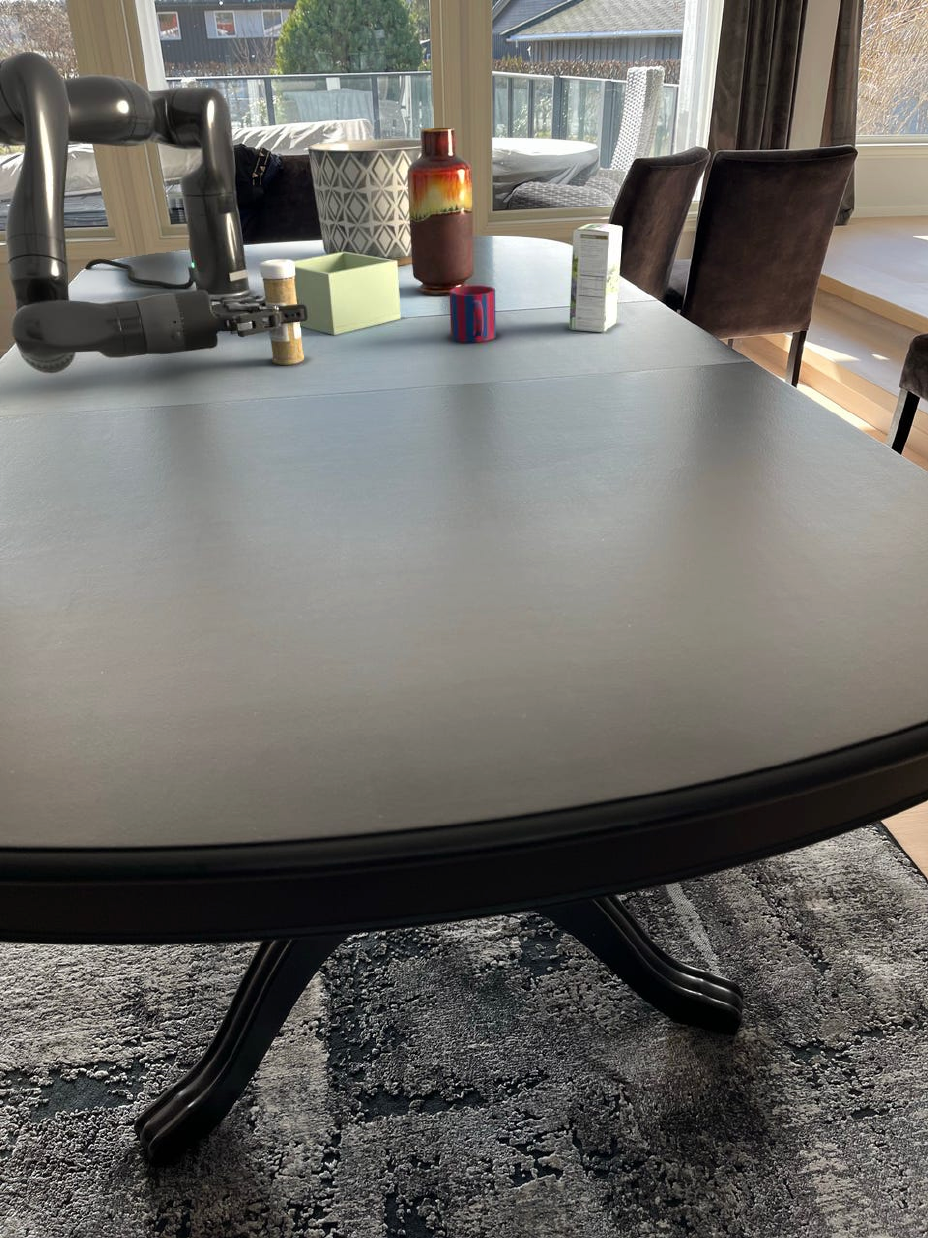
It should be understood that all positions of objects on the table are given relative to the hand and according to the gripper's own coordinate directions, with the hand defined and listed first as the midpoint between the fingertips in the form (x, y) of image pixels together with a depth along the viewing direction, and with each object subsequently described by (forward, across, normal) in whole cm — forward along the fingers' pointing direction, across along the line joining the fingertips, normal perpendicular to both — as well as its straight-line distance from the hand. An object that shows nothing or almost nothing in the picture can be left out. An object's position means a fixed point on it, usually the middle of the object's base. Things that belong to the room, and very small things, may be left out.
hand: (301, 308), depth 131 cm
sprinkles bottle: (-3, 0, +7) cm, 8 cm away
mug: (+25, -2, +7) cm, 26 cm away
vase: (+34, +33, +7) cm, 48 cm away
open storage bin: (+11, +20, +7) cm, 24 cm away
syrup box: (+44, -4, +7) cm, 45 cm away
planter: (+33, +67, +7) cm, 75 cm away
